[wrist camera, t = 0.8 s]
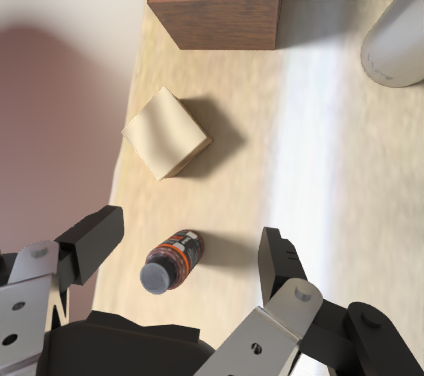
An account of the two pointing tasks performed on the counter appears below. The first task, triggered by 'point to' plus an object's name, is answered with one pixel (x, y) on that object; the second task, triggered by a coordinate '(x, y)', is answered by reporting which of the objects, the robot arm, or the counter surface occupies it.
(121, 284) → the counter surface
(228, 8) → the tissue box cover
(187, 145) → the pedestal
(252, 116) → the counter surface
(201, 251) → the supplement bottle
